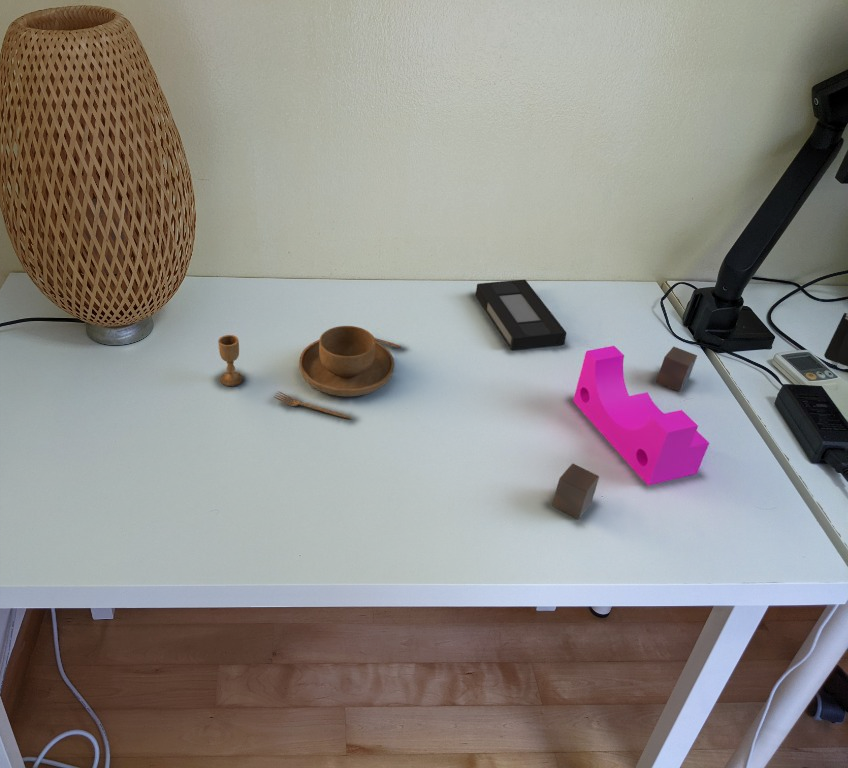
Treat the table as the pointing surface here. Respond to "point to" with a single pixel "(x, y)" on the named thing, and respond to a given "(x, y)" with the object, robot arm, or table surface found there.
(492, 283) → the vhs tape
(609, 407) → the toy block
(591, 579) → the table surface
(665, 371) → the brown cubes
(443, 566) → the table surface
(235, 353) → the place setting
